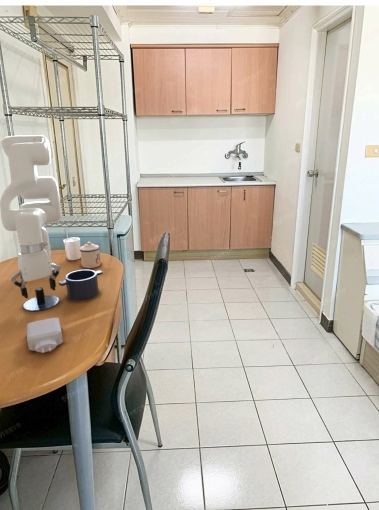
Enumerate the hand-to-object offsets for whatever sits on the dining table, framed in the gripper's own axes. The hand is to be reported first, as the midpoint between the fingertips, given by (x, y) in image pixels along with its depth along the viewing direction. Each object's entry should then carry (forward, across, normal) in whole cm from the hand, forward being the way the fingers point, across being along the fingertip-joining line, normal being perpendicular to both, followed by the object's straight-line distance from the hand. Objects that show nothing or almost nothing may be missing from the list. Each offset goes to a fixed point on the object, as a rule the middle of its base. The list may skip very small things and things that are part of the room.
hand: (39, 293), depth 125 cm
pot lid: (+4, 0, 0) cm, 4 cm away
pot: (+5, -15, +2) cm, 16 cm away
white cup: (+4, -32, -42) cm, 53 cm away
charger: (+6, +9, +27) cm, 29 cm away
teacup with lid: (+4, -34, -28) cm, 44 cm away
